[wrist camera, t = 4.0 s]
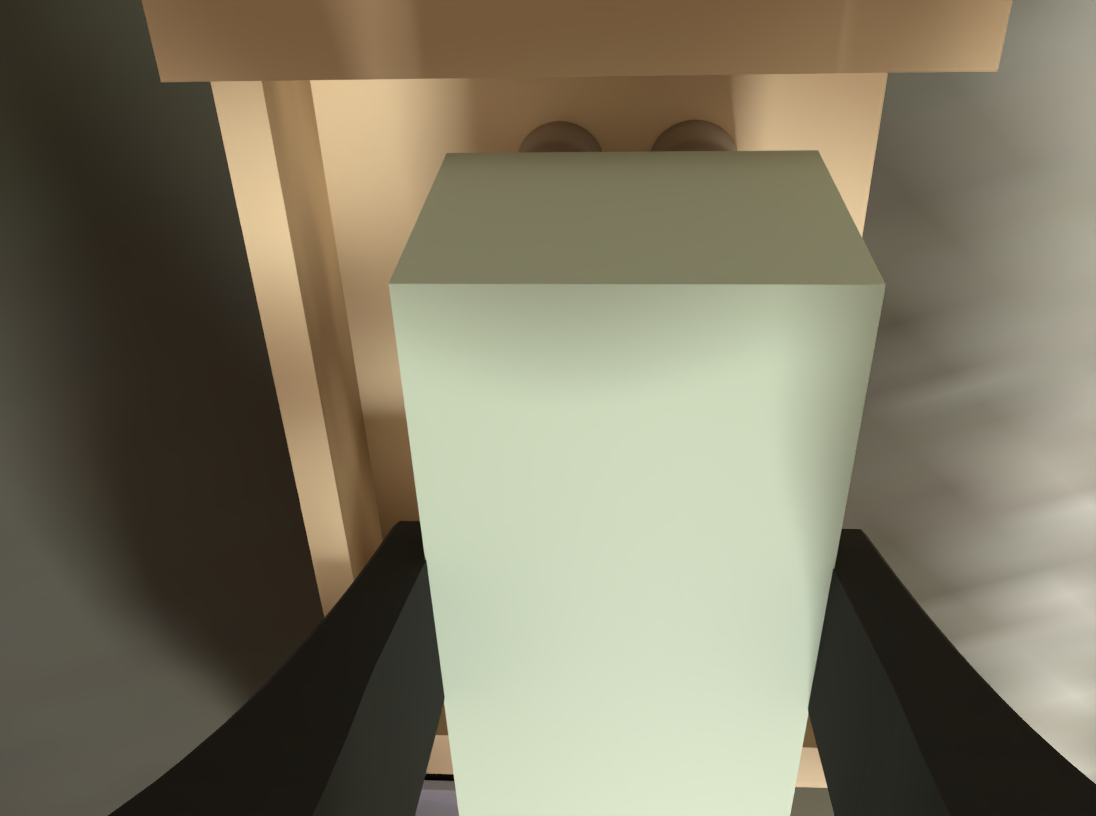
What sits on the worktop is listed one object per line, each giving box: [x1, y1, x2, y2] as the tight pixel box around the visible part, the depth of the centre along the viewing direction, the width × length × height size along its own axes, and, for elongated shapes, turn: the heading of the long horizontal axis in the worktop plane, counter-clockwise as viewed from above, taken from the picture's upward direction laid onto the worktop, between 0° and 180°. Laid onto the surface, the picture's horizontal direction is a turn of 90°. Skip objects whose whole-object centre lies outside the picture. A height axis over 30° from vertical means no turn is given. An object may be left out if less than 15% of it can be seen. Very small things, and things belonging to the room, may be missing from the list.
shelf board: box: [389, 150, 886, 816], centre depth 14 cm, size 10×5×4 cm, turn 2°
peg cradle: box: [142, 0, 1013, 788], centre depth 18 cm, size 15×11×6 cm
